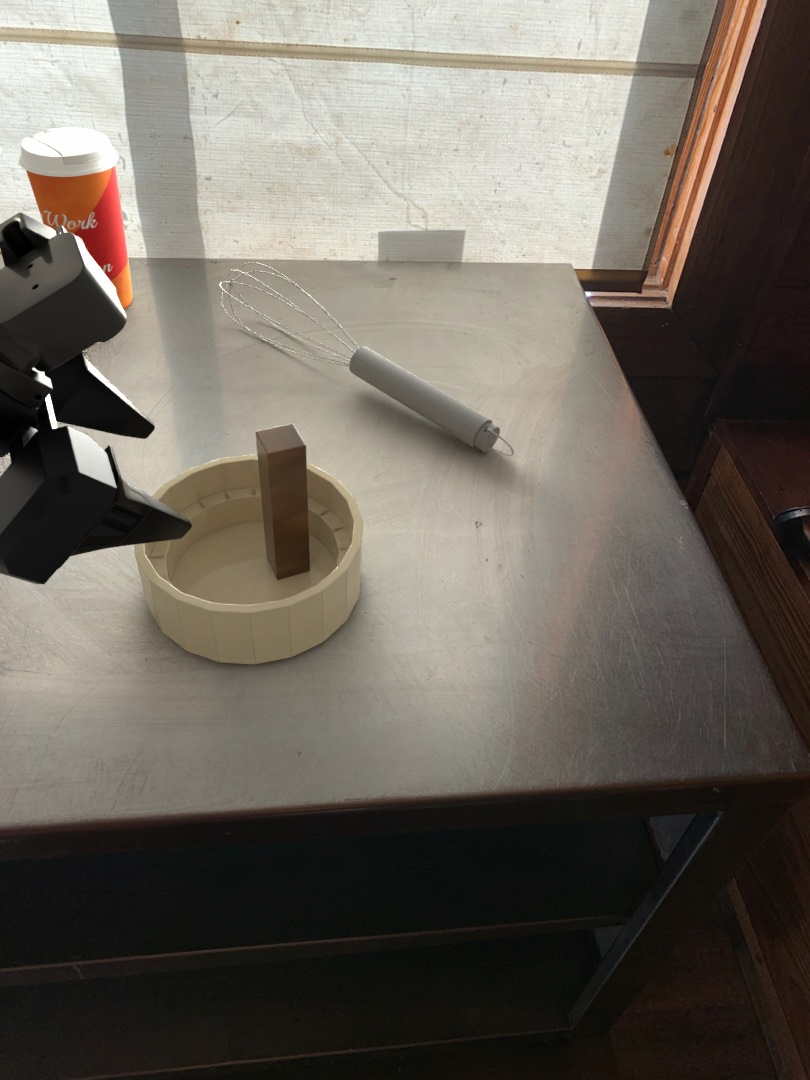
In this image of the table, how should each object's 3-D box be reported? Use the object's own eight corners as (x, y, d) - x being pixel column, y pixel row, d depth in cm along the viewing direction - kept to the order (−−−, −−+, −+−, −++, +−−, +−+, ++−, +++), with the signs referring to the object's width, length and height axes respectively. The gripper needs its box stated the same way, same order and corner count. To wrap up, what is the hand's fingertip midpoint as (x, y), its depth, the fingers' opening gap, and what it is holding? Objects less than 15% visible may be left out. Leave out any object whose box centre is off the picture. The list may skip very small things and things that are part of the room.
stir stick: (277, 580, 54) (267, 454, 46) (266, 557, 55) (255, 430, 47) (310, 571, 54) (306, 445, 47) (299, 548, 56) (293, 422, 48)
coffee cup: (39, 305, 78) (-8, 144, 67) (99, 273, 83) (64, 118, 72) (105, 330, 75) (67, 167, 64) (162, 295, 80) (136, 138, 70)
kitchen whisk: (490, 481, 63) (502, 417, 59) (208, 326, 77) (200, 265, 73) (531, 447, 66) (545, 383, 62) (255, 304, 81) (250, 244, 76)
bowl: (156, 689, 47) (140, 632, 44) (142, 528, 57) (128, 470, 53) (383, 644, 51) (387, 588, 47) (335, 499, 60) (334, 443, 56)
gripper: (-7, 302, 26) (315, 480, 37) (-41, 116, 38) (212, 296, 49) (-175, 531, 29) (172, 631, 40) (-158, 293, 41) (107, 423, 52)
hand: (167, 478), depth 45 cm, fingers open, 9 cm apart
